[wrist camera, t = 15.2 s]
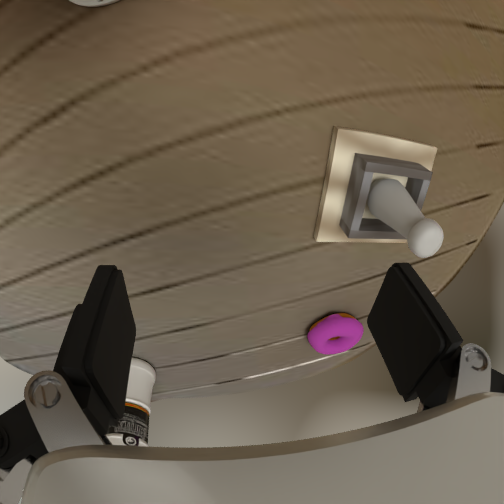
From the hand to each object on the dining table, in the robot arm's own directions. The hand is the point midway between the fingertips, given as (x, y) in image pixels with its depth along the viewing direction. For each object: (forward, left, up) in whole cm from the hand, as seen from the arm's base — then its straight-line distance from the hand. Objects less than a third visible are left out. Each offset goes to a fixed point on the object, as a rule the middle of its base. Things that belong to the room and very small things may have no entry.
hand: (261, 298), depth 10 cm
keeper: (+7, +21, -28) cm, 36 cm away
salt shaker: (+7, +21, -27) cm, 35 cm away
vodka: (+47, -18, -28) cm, 58 cm away
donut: (+35, +21, -29) cm, 50 cm away
